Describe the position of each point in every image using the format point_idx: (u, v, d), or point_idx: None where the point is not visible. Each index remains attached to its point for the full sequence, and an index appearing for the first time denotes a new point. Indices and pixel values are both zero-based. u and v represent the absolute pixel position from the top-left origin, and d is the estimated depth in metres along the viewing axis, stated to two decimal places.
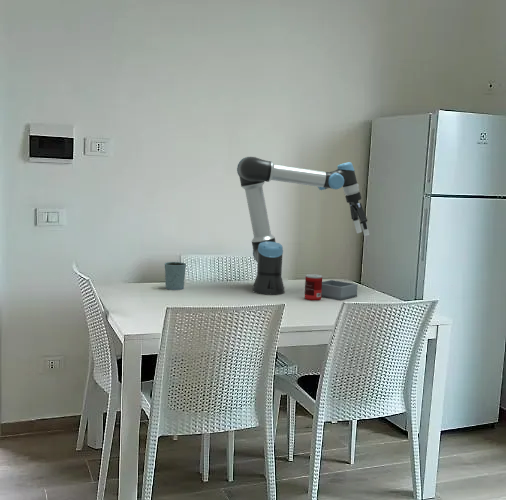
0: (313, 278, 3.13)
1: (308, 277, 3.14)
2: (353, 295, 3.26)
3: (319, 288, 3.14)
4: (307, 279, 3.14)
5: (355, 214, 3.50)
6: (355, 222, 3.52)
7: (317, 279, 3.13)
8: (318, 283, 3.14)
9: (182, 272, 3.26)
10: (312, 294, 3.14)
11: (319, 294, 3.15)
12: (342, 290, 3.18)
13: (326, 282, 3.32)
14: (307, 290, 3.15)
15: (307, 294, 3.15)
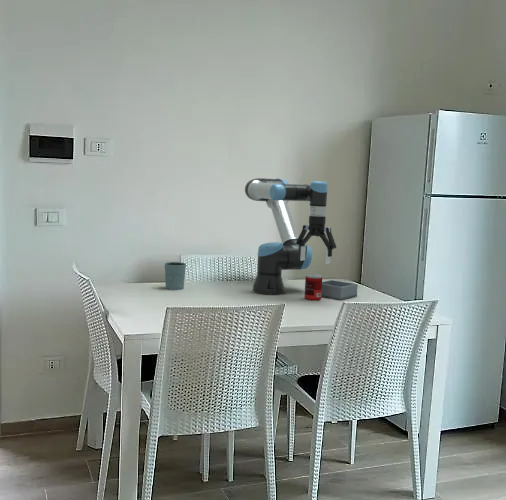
0: (313, 278, 3.13)
1: (308, 277, 3.14)
2: (353, 295, 3.26)
3: (319, 288, 3.14)
4: (307, 279, 3.14)
5: None
6: None
7: (317, 279, 3.13)
8: (318, 283, 3.14)
9: (182, 272, 3.26)
10: (312, 294, 3.14)
11: (319, 294, 3.15)
12: (342, 290, 3.18)
13: (326, 282, 3.32)
14: (307, 290, 3.15)
15: (307, 294, 3.15)
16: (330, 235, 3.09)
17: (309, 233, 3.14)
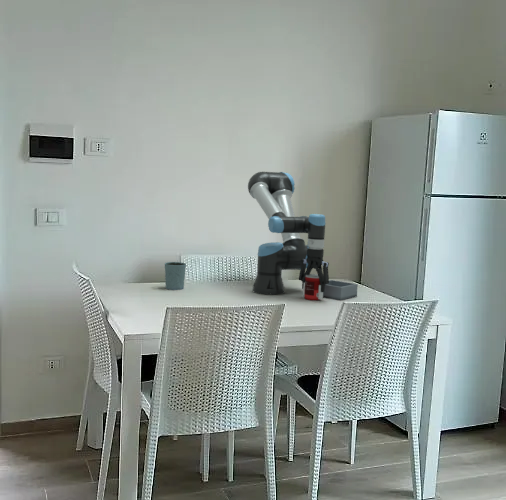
0: (313, 278, 3.13)
1: (308, 277, 3.14)
2: (353, 295, 3.26)
3: None
4: (307, 279, 3.14)
5: None
6: None
7: (317, 279, 3.13)
8: (318, 283, 3.14)
9: (182, 272, 3.26)
10: (312, 294, 3.14)
11: None
12: (342, 290, 3.18)
13: None
14: (307, 290, 3.15)
15: (307, 294, 3.15)
16: (326, 271, 3.12)
17: (308, 266, 3.16)
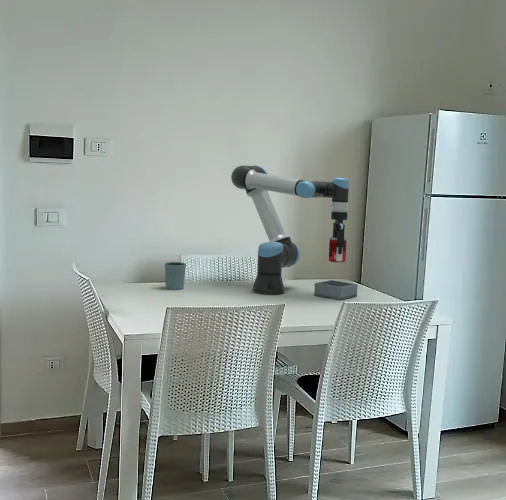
0: (331, 239, 3.21)
1: None
2: (353, 295, 3.26)
3: None
4: None
5: None
6: None
7: (335, 241, 3.20)
8: None
9: (182, 272, 3.26)
10: (331, 255, 3.22)
11: None
12: (342, 290, 3.18)
13: (326, 282, 3.32)
14: (329, 251, 3.25)
15: None
16: (340, 233, 3.17)
17: (334, 229, 3.25)
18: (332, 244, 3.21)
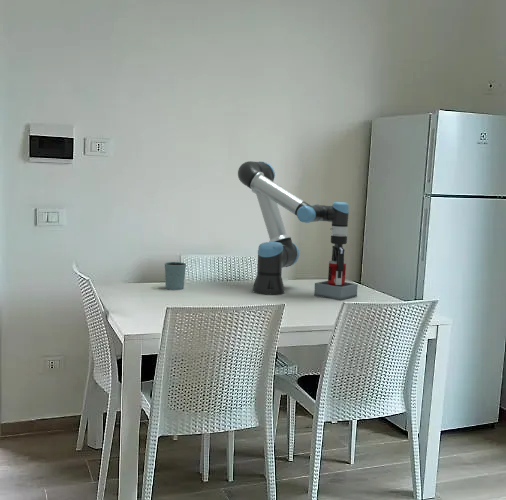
0: (331, 263, 3.23)
1: (329, 262, 3.26)
2: (353, 295, 3.26)
3: None
4: (329, 264, 3.26)
5: None
6: None
7: (334, 265, 3.22)
8: (335, 269, 3.22)
9: (182, 272, 3.26)
10: (330, 278, 3.24)
11: None
12: (342, 290, 3.18)
13: (326, 282, 3.32)
14: (328, 275, 3.27)
15: (328, 279, 3.27)
16: (340, 257, 3.19)
17: (333, 252, 3.27)
18: (331, 268, 3.23)
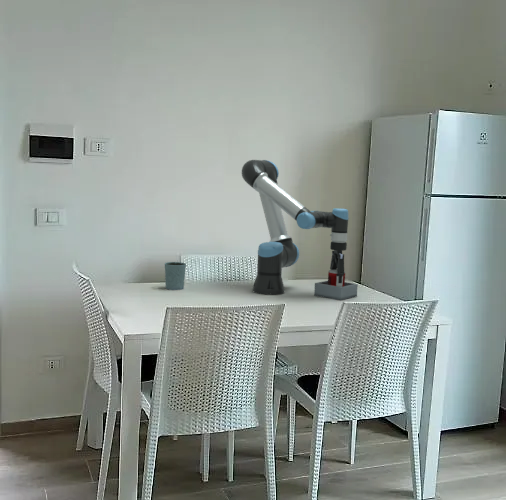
0: (330, 273, 3.24)
1: None
2: (353, 295, 3.26)
3: None
4: (328, 273, 3.27)
5: None
6: None
7: (334, 274, 3.23)
8: (335, 278, 3.23)
9: (182, 272, 3.26)
10: None
11: None
12: (342, 290, 3.18)
13: (326, 282, 3.32)
14: None
15: None
16: (340, 262, 3.18)
17: (333, 258, 3.28)
18: (331, 277, 3.24)
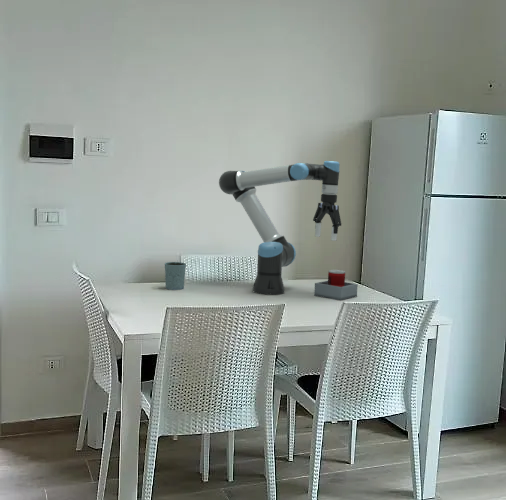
0: (330, 273, 3.24)
1: None
2: (353, 295, 3.26)
3: (336, 283, 3.23)
4: (328, 273, 3.27)
5: None
6: None
7: (334, 274, 3.23)
8: (335, 278, 3.23)
9: (182, 272, 3.26)
10: None
11: None
12: (342, 290, 3.18)
13: (326, 282, 3.32)
14: None
15: None
16: (336, 213, 3.22)
17: (321, 210, 3.30)
18: (331, 277, 3.24)
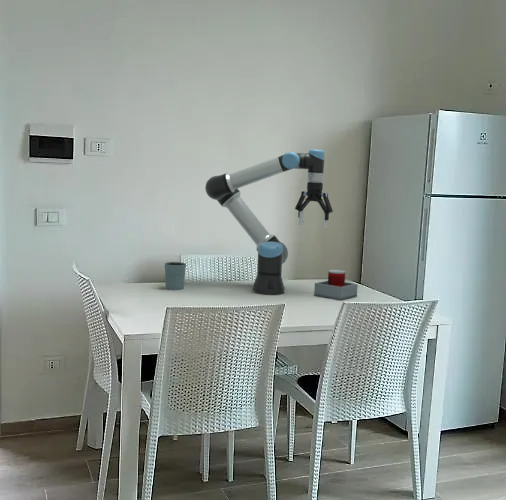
0: (330, 273, 3.24)
1: None
2: (353, 295, 3.26)
3: (336, 283, 3.23)
4: (328, 273, 3.27)
5: None
6: None
7: (334, 274, 3.23)
8: (335, 278, 3.23)
9: (182, 272, 3.26)
10: None
11: None
12: (342, 290, 3.18)
13: (326, 282, 3.32)
14: None
15: None
16: (327, 200, 3.30)
17: (307, 198, 3.35)
18: (331, 277, 3.24)
